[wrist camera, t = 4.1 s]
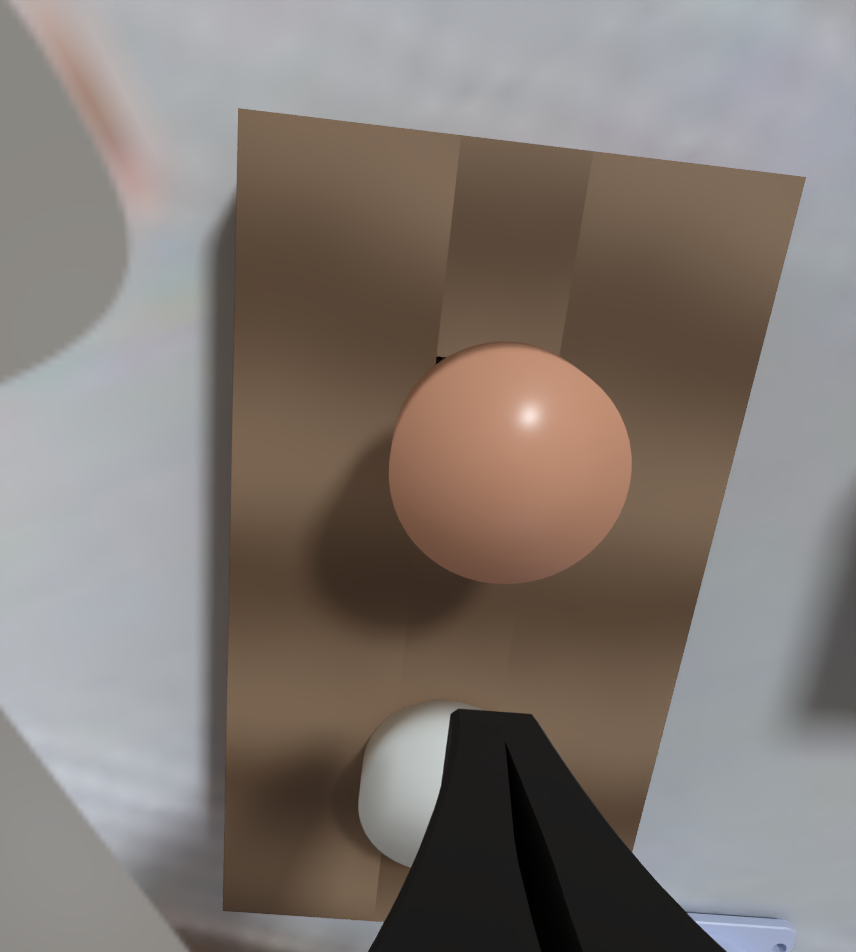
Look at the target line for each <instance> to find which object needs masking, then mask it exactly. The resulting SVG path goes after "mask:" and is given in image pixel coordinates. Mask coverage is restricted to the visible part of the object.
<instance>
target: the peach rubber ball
mask: <svg viewBox="0 0 856 952" xmlns="http://www.w3.org/2000/svg"><path fill="white" fill-rule="evenodd" d="M631 472H632V455H631V448H630V441H629V438H628V434H627V431H626V427H625V425H624V422H623V420H622V418H621V416H620V413H619V412H618V410H617V408H616V407H615V405H614V404H613V402H612V401H611V399H610V398H609V397H608V396H607V394H606V393H605V392H604V391H603V390H602V389H601V387H599V386H598V385H597V384H596V383H595V382H594V381H593V380H592V379H590V378H589V377H588V376H587V375H585V374H584V373H583V372H582V371H580V370H579V369H578V368H576V367H575V366H574V365H572V364H571V363H570V362H568V361H567V360H565V359H564V358H562V357H561V356H559V355H557V354H555V353H553V352H551V351H549V350H547V349H544V348H541V347H538V346H535V345H531V344H526V343H520V342H506V341H500V342H489V343H484V344H479V345H475V346H471V347H468V348H466V349H463V350H460V351H458V352H456V353H454V354H452V355H450V356H448V357H446V358H445V359H443V360H442V361H440V362H439V363H437V364H436V365H435V366H433V367H432V368H431V369H430V370H429V371H428V372H426V373H425V374H424V375H423V376H422V377H421V378H420V380H419V381H418V382H417V383H416V384H415V386H414V387H413V388H412V389H411V391H410V393H409V394H408V396H407V397H406V399H405V400H404V403H403V405H402V407H401V409H400V411H399V414H398V417H397V420H396V423H395V427H394V432H393V439H392V446H391V453H390V460H389V485H390V493H391V497H392V501H393V505H394V508H395V511H396V513H397V516H398V518H399V521H400V522H401V524H402V526H403V528H404V529H405V531H406V533H407V534H408V536H409V537H410V538H411V540H412V541H413V542H414V543H415V545H416V546H417V547H418V548H419V549H420V550H421V551H422V552H423V553H424V554H425V555H426V556H428V557H429V558H430V559H432V560H433V561H434V562H436V563H437V564H438V565H440V566H442V567H443V568H445V569H447V570H449V571H450V572H453V573H455V574H457V575H460V576H462V577H465V578H468V579H472V580H475V581H479V582H486V583H492V584H517V583H526V582H530V581H535V580H540V579H543V578H546V577H549V576H552V575H554V574H556V573H558V572H561V571H563V570H565V569H567V568H569V567H570V566H572V565H573V564H575V563H577V562H578V561H580V560H581V559H582V558H584V557H585V556H586V555H587V554H589V553H590V552H591V551H592V550H593V549H594V548H595V547H596V546H597V545H598V544H599V543H600V542H601V541H602V540H603V539H604V538H605V536H606V535H607V534H608V532H609V531H610V530H611V529H612V527H613V525H614V523H615V522H616V520H617V518H618V517H619V515H620V513H621V510H622V508H623V506H624V503H625V501H626V497H627V494H628V490H629V486H630V479H631Z"/></svg>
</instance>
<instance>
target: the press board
mask: <svg viewBox="0 0 856 952" xmlns="http://www.w3.org/2000/svg"><path fill="white" fill-rule="evenodd" d="M805 179H806V177H800V176H792V175H784V174H776V173H767V172H759V171H751V170H743V169H734V168H726V167H718V166H710V165H701V164H693V163H685V162H677V161H668V160H660V159H652V158H644V157H635V156H627V155H619V154H611V153H602V152H594V151H586V150H578V149H569V148H561V147H553V146H545V145H536V144H528V143H520V142H512V141H503V140H495V139H487V138H479V137H470V136H462V135H454V134H446V133H437V132H429V131H421V130H413V129H404V128H396V127H388V126H380V125H371V124H363V123H355V122H347V121H338V120H330V119H322V118H314V117H305V116H297V115H289V114H281V113H272V112H264V111H256V110H248V109H240V108H238V150H237V202H236V255H235V307H234V359H233V411H232V464H231V516H230V568H229V620H228V672H227V725H226V777H225V829H224V881H223V911H233V912H248V913H262V914H277V915H292V916H307V917H321V918H336V919H351V920H365V921H380V922H385V920H386V918H387V916H388V914H389V912H390V910H391V908H392V906H393V904H394V902H395V900H396V898H397V896H398V894H399V892H400V890H401V888H402V886H403V884H404V882H405V880H406V877H407V875H408V873H409V871H410V869H411V868H410V867H407V866H404V865H402V864H400V863H398V862H396V861H394V860H392V859H390V858H389V857H387V856H386V855H384V854H383V853H382V852H381V851H380V850H378V849H377V848H376V847H375V845H374V844H373V843H372V842H371V841H370V839H369V838H368V837H367V835H366V833H365V831H364V829H363V827H362V824H361V821H360V818H359V811H358V801H359V791H360V782H361V773H362V764H363V757H364V751H365V748H366V746H367V743H368V741H369V739H370V737H371V735H372V734H373V733H374V731H375V730H376V729H377V728H378V726H379V725H380V724H381V723H382V722H383V721H385V720H386V719H387V718H388V717H390V716H391V715H393V714H394V713H396V712H398V711H399V710H401V709H404V708H406V707H408V706H411V705H414V704H417V703H421V702H426V701H435V700H451V701H458V702H463V703H467V704H471V705H473V706H476V707H479V708H481V709H483V710H485V711H498V712H512V713H525V714H532V715H533V716H534V718H535V719H536V720H537V722H538V723H539V725H540V726H541V728H542V729H543V731H544V732H545V734H546V736H547V737H548V739H549V740H550V742H551V743H552V745H553V746H554V748H555V749H556V751H557V752H558V754H559V755H560V757H561V758H562V760H563V761H564V763H565V764H566V766H567V767H568V769H569V770H570V772H571V773H572V774H573V776H574V777H575V779H576V780H577V782H578V783H579V784H580V786H581V787H582V789H583V790H584V791H585V793H586V794H587V795H588V797H589V798H590V799H591V801H592V802H593V803H594V805H595V806H596V807H597V809H598V810H599V811H600V813H601V814H602V815H603V817H604V818H605V820H606V821H607V822H608V823H609V825H610V826H611V827H612V828H613V830H614V831H615V832H616V834H617V835H618V836H619V837H620V839H621V840H622V841H623V842H624V843H625V845H626V846H627V847H628V848H629V849H630V851H631V852H632V850H633V846H634V842H635V839H636V835H637V831H638V827H639V823H640V819H641V815H642V811H643V807H644V804H645V800H646V796H647V792H648V788H649V784H650V780H651V776H652V773H653V769H654V765H655V761H656V757H657V753H658V749H659V745H660V742H661V738H662V734H663V730H664V726H665V722H666V718H667V714H668V711H669V707H670V703H671V699H672V695H673V691H674V687H675V683H676V679H677V676H678V672H679V668H680V664H681V660H682V656H683V652H684V648H685V645H686V641H687V637H688V633H689V629H690V625H691V621H692V617H693V614H694V610H695V606H696V602H697V598H698V594H699V590H700V586H701V582H702V579H703V575H704V571H705V567H706V563H707V559H708V555H709V551H710V548H711V544H712V540H713V536H714V532H715V528H716V524H717V520H718V517H719V513H720V509H721V505H722V501H723V497H724V493H725V489H726V485H727V482H728V478H729V474H730V470H731V466H732V462H733V458H734V454H735V451H736V447H737V443H738V439H739V435H740V431H741V427H742V423H743V420H744V416H745V412H746V408H747V404H748V400H749V396H750V392H751V388H752V385H753V381H754V377H755V373H756V369H757V365H758V361H759V357H760V354H761V350H762V346H763V342H764V338H765V334H766V330H767V326H768V323H769V319H770V315H771V311H772V307H773V303H774V299H775V295H776V291H777V288H778V284H779V280H780V276H781V272H782V268H783V264H784V260H785V257H786V253H787V249H788V245H789V241H790V237H791V233H792V229H793V226H794V222H795V218H796V214H797V210H798V206H799V202H800V198H801V195H802V191H803V187H804V183H805ZM500 341H506V342H520V343H526V344H531V345H535V346H538V347H541V348H544V349H547V350H549V351H551V352H553V353H555V354H557V355H559V356H561V357H562V358H564V359H565V360H567V361H568V362H570V363H571V364H572V365H574V366H575V367H576V368H578V369H579V370H580V371H582V372H583V373H584V374H585V375H587V376H588V377H589V378H590V379H592V380H593V381H594V382H595V383H596V384H597V385H598V386H599V387H601V389H602V390H603V391H604V392H605V393H606V394H607V396H608V397H609V398H610V399H611V401H612V402H613V404H614V405H615V407H616V408H617V410H618V412H619V413H620V416H621V418H622V420H623V422H624V425H625V427H626V431H627V434H628V438H629V441H630V448H631V455H632V472H631V479H630V486H629V490H628V494H627V497H626V501H625V503H624V506H623V508H622V510H621V513H620V515H619V517H618V518H617V520H616V522H615V523H614V525H613V527H612V529H611V530H610V531H609V532H608V534H607V535H606V536H605V538H604V539H603V540H602V541H601V542H600V543H599V544H598V545H597V546H596V547H595V548H594V549H593V550H592V551H591V552H590V553H589V554H587V555H586V556H585V557H584V558H582V559H581V560H580V561H578V562H577V563H575V564H573V565H572V566H570V567H569V568H567V569H565V570H563V571H561V572H558V573H556V574H554V575H552V576H549V577H546V578H543V579H540V580H535V581H530V582H526V583H517V584H492V583H486V582H479V581H475V580H472V579H468V578H465V577H462V576H460V575H457V574H455V573H453V572H450V571H449V570H447V569H445V568H443V567H442V566H440V565H438V564H437V563H436V562H434V561H433V560H432V559H430V558H429V557H428V556H426V555H425V554H424V553H423V552H422V551H421V550H420V549H419V548H418V547H417V546H416V545H415V543H414V542H413V541H412V540H411V538H410V537H409V536H408V534H407V533H406V531H405V529H404V528H403V526H402V524H401V522H400V521H399V518H398V516H397V513H396V511H395V508H394V505H393V501H392V497H391V493H390V485H389V460H390V453H391V446H392V439H393V432H394V427H395V423H396V420H397V417H398V414H399V411H400V409H401V407H402V405H403V403H404V400H405V399H406V397H407V396H408V394H409V393H410V391H411V389H412V388H413V387H414V386H415V384H416V383H417V382H418V381H419V380H420V378H421V377H422V376H423V375H424V374H425V373H426V372H428V371H429V370H430V369H431V368H432V367H433V366H435V365H436V356H439V357H448V356H450V355H452V354H454V353H456V352H458V351H460V350H463V349H466V348H468V347H471V346H475V345H479V344H484V343H489V342H500Z"/></svg>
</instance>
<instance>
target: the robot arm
mask: <svg viewBox="0 0 856 952" xmlns="http://www.w3.org/2000/svg"><path fill="white" fill-rule="evenodd" d="M795 939H796V933H795V931H794V929H793V927H792V925H791V924H790V923H789V922H788V921H786V920H782V919H769V918H755V917H741V916H726V915H712V914H698V913H686V912H685V910H684V909H683V908H682V907H681V906H680V905H679V904H678V903H677V902H676V901H675V900H674V899H673V898H672V897H671V896H670V895H669V894H668V893H667V892H666V891H665V890H664V889H663V888H662V887H661V885H660V884H659V883H658V882H657V881H656V880H655V879H654V878H653V877H652V875H651V874H650V873H649V872H648V871H647V870H646V868H645V867H644V866H643V865H642V864H641V863H640V862H639V860H638V859H637V858H636V857H635V855H634V854H633V853H632V852H631V851H630V849H629V848H628V847H627V846H626V845H625V843H624V842H623V841H622V840H621V839H620V837H619V836H618V835H617V834H616V832H615V831H614V830H613V828H612V827H611V826H610V825H609V823H608V822H607V821H606V820H605V818H604V817H603V815H602V814H601V813H600V811H599V810H598V809H597V807H596V806H595V805H594V803H593V802H592V801H591V799H590V798H589V797H588V795H587V794H586V793H585V791H584V790H583V789H582V787H581V786H580V784H579V783H578V782H577V780H576V779H575V777H574V776H573V774H572V773H571V772H570V770H569V769H568V767H567V766H566V764H565V763H564V761H563V760H562V758H561V757H560V755H559V754H558V752H557V751H556V749H555V748H554V746H553V745H552V743H551V742H550V740H549V739H548V737H547V736H546V734H545V732H544V731H543V729H542V728H541V726H540V725H539V723H538V722H537V720H536V719H535V718H534V716H533V715H532V714H525V713H512V712H498V711H485V710H471V709H457V710H455V711H454V712H452V713H451V714H450V721H449V729H448V736H447V744H446V751H445V759H444V766H443V774H442V782H441V787H440V791H439V795H438V798H437V801H436V804H435V807H434V810H433V813H432V816H431V818H430V821H429V824H428V826H427V829H426V832H425V834H424V837H423V840H422V843H421V845H420V848H419V850H418V852H417V855H416V857H415V859H414V862H413V864H412V866H411V869H410V871H409V873H408V875H407V877H406V880H405V882H404V884H403V886H402V888H401V890H400V892H399V894H398V896H397V898H396V900H395V902H394V904H393V906H392V908H391V910H390V912H389V914H388V916H387V918H386V920H385V922H384V923H383V925H382V927H381V929H380V931H379V933H378V935H377V937H376V939H375V940H374V942H373V944H372V946H371V947H370V949H369V951H368V952H791V950H792V947H793V945H794V942H795Z"/></svg>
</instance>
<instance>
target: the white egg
mask: <svg viewBox="0 0 856 952" xmlns="http://www.w3.org/2000/svg"><path fill="white" fill-rule="evenodd" d="M457 709H471V710H483V709H481V708H479V707H476V706H473V705H471V704H467V703H463V702H458V701H451V700H435V701H426V702H421V703H417V704H414V705H411V706H408V707H406V708H404V709H401V710H399V711H398V712H396V713H394V714H393V715H391V716H390V717H388V718H387V719H386V720H385V721H383V722H382V723H381V724H380V725H379V726H378V728H377V729H376V730H375V731H374V733H373V734H372V735H371V737H370V739H369V741H368V743H367V746H366V748H365V751H364V757H363V764H362V773H361V782H360V791H359V801H358V811H359V818H360V821H361V824H362V827H363V829H364V831H365V833H366V835H367V837H368V838H369V839H370V841H371V842H372V843H373V844H374V845H375V847H376V848H377V849H378V850H380V851H381V852H382V853H383V854H384V855H386V856H387V857H389V858H390V859H392V860H394V861H396V862H398V863H400V864H402V865H404V866H407V867H410V868H411V866H412V864H413V862H414V859H415V857H416V855H417V852H418V850H419V848H420V845H421V843H422V840H423V837H424V834H425V832H426V829H427V826H428V824H429V821H430V818H431V816H432V813H433V810H434V807H435V804H436V801H437V798H438V795H439V791H440V787H441V782H442V774H443V766H444V759H445V751H446V744H447V736H448V729H449V721H450V714H451V713H452V712H454V711H455V710H457Z"/></svg>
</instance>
